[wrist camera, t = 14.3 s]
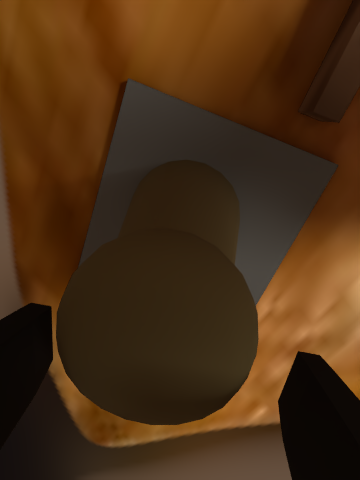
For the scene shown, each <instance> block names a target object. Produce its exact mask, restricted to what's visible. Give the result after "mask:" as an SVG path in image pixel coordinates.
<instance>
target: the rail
mask: <svg viewBox="0 0 360 480" xmlns="http://www.w3.org/2000/svg"><path fill="white" fill-rule="evenodd" d="M359 86H360V0H353V2H352V4H351V6H350V8H349V10H348V12H347V14H346V16H345V18H344V20H343V22H342V24H341V26H340V28H339V30H338V32H337V34H336V36H335V38H334V40H333V42H332V44H331V46H330V48H329V50H328V52H327V54H326V56H325V58H324V60H323V62H322V64H321V66H320V68H319V70H318V72H317V74H316V76H315V78H314V80H313V82H312V84H311V86H310V88H309V90H308V92H307V94H306V96H305V98H304V101H303V103H302V105H301V107H300V109H299V111H298V112H300V113H303V114H305V115H307V116H310V117H312V118H314V119H317V120H319V121H326V122H338V123H339V122H340V120H341V119H342V117H343V115H344V113H345V111H346V110H347V108H348V106H349V104H350V102H351V101H352V99H353V97H354V95H355V94H356V92H357V90H358V88H359Z"/></svg>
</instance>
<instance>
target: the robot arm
mask: <svg viewBox="0 0 360 480" xmlns="http://www.w3.org/2000/svg"><path fill="white" fill-rule="evenodd" d="M52 360H53V342H52V310H51V306H46V305H40V304H35V303H30V304H28V305H26V306H24V307H22V308H20V309H19V310H17V311H15V312H13V313H12V314H10V315H8V316H6V317H5V318H3V319H1V320H0V449H1V448H2V446H3V445H4V443H5V441H6V440H7V438H8V437H9V435H10V434H11V432H12V431H13V429H14V428H15V426H16V424H17V422H18V421H19V420H20V418H21V416H22V415H23V413H24V412H25V410H26V408H27V407H28V406H29V404H30V403H31V401H32V399H33V397H34V396H35V394H36V393H37V391H38V389H39V387H40V385H41V383H42V381H43V379H44V377H45V375H46V373H47V371H48V369H49V367H50V365H51V362H52ZM278 405H279V414H280V423H281V429H282V437H283V443H284V447H285V451H286V456H287V460H288V464H289V469H290V472H291V477H292V480H360V400H359V399H358V398H357V397H356V396H355V394H354V393H353V392H352V391H351V390H350V389H349V388H348V386H347V385H346V384H345V383H344V382H343V381H342V379H341V378H340V377H339V376H338V375H337V374H336V373H335V371H334V370H333V369H332V368H331V367H330V366H329V365H328V364H327V363H326V361H325V360H324V359H323V358H322V357H321V356H320V355H316V354H311V353H305V352H300V351H298V353H297V355H296V358H295V360H294V363H293V365H292V368H291V370H290V373H289V375H288V378H287V380H286V383H285V385H284V388H283V390H282V393H281V395H280V398H279V400H278Z"/></svg>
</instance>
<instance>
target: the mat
mask: <svg viewBox="0 0 360 480" xmlns="http://www.w3.org/2000/svg"><path fill="white" fill-rule="evenodd" d="M178 160H192V161H197V162H201V163H205V164H207V165H209V166H211V167H212V168H214V169H216V170H217V171H219V172H221V173H222V174H223V176H224V177H225V178H226V179H227V180H228V181H229V182H230V184H231V185H232V186H233V188H234V191H235V193H236V195H237V198H238V200H239V208H240V224H239V233H238V241H237V250H236V259H235V266H236V267H237V268H238V270H239V271H240V272H241V273H242V274H243V276H244V279H245V281H246V283H247V285H248V288H249V290H250V292H251V294H252V297H253V299H254V302H255V306H256V304H257V303H258V301H259V299H260V298H261V296H262V294H263V292H264V291H265V289H266V287H267V286H268V284H269V282H270V281H271V279H272V277H273V275H274V274H275V272H276V270H277V269H278V267H279V265H280V264H281V262H282V260H283V259H284V257H285V255H286V253H287V252H288V250H289V248H290V247H291V245H292V243H293V242H294V240H295V238H296V236H297V235H298V233H299V231H300V230H301V228H302V226H303V225H304V223H305V221H306V220H307V218H308V216H309V214H310V213H311V211H312V209H313V208H314V206H315V204H316V203H317V201H318V199H319V197H320V196H321V194H322V192H323V191H324V189H325V187H326V186H327V184H328V182H329V180H330V179H331V177H332V175H333V174H334V172H335V170H336V169H337V167H338V165H337V164H335V163H332V162H330V161H327V160H325V159H323V158H320V157H318V156H315V155H313V154H311V153H308V152H306V151H303V150H301V149H298V148H296V147H294V146H291V145H289V144H286V143H284V142H281V141H279V140H277V139H274V138H272V137H269V136H267V135H264V134H262V133H260V132H257V131H255V130H252V129H250V128H247V127H245V126H243V125H240V124H238V123H235V122H233V121H230V120H228V119H226V118H223V117H221V116H218V115H216V114H213V113H211V112H209V111H206V110H204V109H201V108H199V107H196V106H194V105H192V104H189V103H187V102H184V101H182V100H179V99H177V98H175V97H172V96H170V95H167V94H165V93H162V92H160V91H158V90H155V89H153V88H150V87H148V86H145V85H143V84H141V83H138V82H136V81H133V80H131V79H128V81H127V85H126V89H125V93H124V97H123V100H122V104H121V108H120V112H119V115H118V119H117V123H116V127H115V130H114V134H113V138H112V142H111V146H110V149H109V153H108V157H107V161H106V164H105V168H104V172H103V176H102V179H101V183H100V187H99V191H98V195H97V198H96V202H95V206H94V210H93V213H92V217H91V221H90V225H89V228H88V232H87V236H86V240H85V244H84V247H83V251H82V255H81V259H80V262H79V266H80V265H81V264H82V263H83V262H84V261H85V260H86V259H87V258H88V257H90V256H91V255H92V254H93V253H94V252H95V251H96V250H97V249H98V248H99V247H100V246H101V245H103V244H105V243H107V242H110V241H112V240H114V239H117V238H118V235H119V233H120V230H121V227H122V224H123V222H124V219H125V216H126V214H127V211H128V208H129V205H130V203H131V200H132V197H133V195H134V193H135V191H136V189H137V187H138V185H139V183H140V181H141V180H142V179H143V178H144V177H145V176H146V175H147V174H148V173H149V172H150V171H151V170H152V169H154V168H156V167H158V166H161V165H163V164H165V163H167V162H170V161H178ZM79 266H78V268H79Z"/></svg>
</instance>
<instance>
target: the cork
mask: <svg viewBox="0 0 360 480" xmlns="http://www.w3.org/2000/svg"><path fill="white" fill-rule="evenodd" d="M239 224H240V208H239V200H238V198H237V195H236V193H235V191H234V188H233V186H232V185H231V184H230V182H229V181H228V180H227V179H226V178H225V177H224V176H223V174H222V173H221V172H219V171H217V170H216V169H214V168H212V167H211V166H209V165H207V164H205V163H201V162H197V161H192V160H178V161H170V162H167V163H165V164H163V165H161V166H158V167H156V168H154V169H152V170H151V171H150V172H149V173H148V174H147V175H146V176H145V177H144V178H143V179H142V180H141V181H140V183H139V185H138V187H137V189H136V191H135V193H134V195H133V197H132V200H131V203H130V205H129V208H128V211H127V214H126V216H125V219H124V222H123V224H122V227H121V230H120V233H119V235H118V238H117V239H114V240H112V241H110V242H107V243H105V244H103V245H101V246H100V247H99V248H98V249H97V250H96V251H95V252H94V253H93V254H92V255H91V256H90V257H88V258H87V259H86V260H85V261H84V262H83V263H82V264H81V265H80V266H79V268H78V269H77V270H76V271H75V272H74V273H73V275H72V277H71V279H70V281H69V283H68V285H67V288H66V290H65V292H64V294H63V296H62V299H61V302H60V305H59V308H58V311H57V325H56V340H57V346H58V353H59V355H60V358H61V361H62V364H63V366H64V369H65V372H66V374H67V376H68V377H69V378H70V379H71V381H72V382H73V383H74V385H75V386H76V387H77V388H78V390H79V391H80V392H81V393H82V394H83V395H84V396H86V397H87V398H88V399H90V400H91V401H92V402H93V403H95V404H96V405H97V406H99V407H100V408H101V409H104V410H106V411H108V412H110V413H112V414H115V415H117V416H119V417H121V418H124V419H126V420H131V421H136V422H140V423H145V424H149V425H179V424H183V423H187V422H191V421H196V420H200V419H203V418H205V417H206V416H208V415H210V414H212V413H214V412H216V411H217V410H219V409H221V408H223V407H224V406H225V405H226V404H227V403H228V401H229V400H230V399H231V398H232V397H233V396H234V395H235V394H236V393H237V392H238V391H239V389H240V388H241V386H242V385H243V384H244V382H245V381H246V379H247V377H248V375H249V372H250V370H251V367H252V365H253V362H254V359H255V357H256V353H257V346H258V314H257V310H256V306H255V302H254V299H253V297H252V294H251V292H250V290H249V288H248V285H247V283H246V281H245V279H244V276H243V274H242V273H241V272H240V271H239V270H238V268H237V267H236V266H235V259H236V250H237V241H238V233H239Z"/></svg>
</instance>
